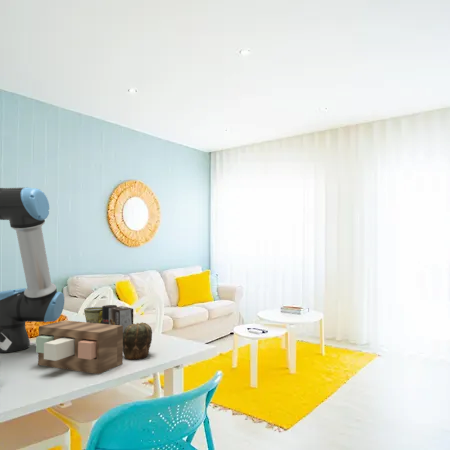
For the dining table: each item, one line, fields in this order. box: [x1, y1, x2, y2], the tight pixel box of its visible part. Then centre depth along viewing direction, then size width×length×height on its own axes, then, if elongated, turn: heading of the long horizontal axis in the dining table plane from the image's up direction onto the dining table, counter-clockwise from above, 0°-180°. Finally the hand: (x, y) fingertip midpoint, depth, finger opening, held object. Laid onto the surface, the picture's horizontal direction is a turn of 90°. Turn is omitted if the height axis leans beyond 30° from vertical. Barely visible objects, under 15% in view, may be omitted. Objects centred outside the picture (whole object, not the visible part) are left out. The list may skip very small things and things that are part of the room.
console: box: [37, 319, 124, 375], centre depth 138 cm, size 26×12×13 cm, turn 67°
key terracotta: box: [78, 339, 97, 360], centre depth 131 cm, size 5×9×5 cm, turn 157°
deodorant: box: [101, 304, 118, 324], centre depth 171 cm, size 6×6×15 cm
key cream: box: [44, 337, 75, 361], centre depth 130 cm, size 5×9×5 cm, turn 157°
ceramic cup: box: [83, 306, 102, 324], centre depth 196 cm, size 13×10×10 cm
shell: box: [123, 322, 153, 361], centre depth 148 cm, size 11×11×12 cm
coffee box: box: [109, 305, 134, 333], centre depth 159 cm, size 9×6×16 cm
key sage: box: [35, 335, 54, 353], centre depth 138 cm, size 5×9×5 cm, turn 157°
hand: (7, 346), depth 122 cm, fingers closed
